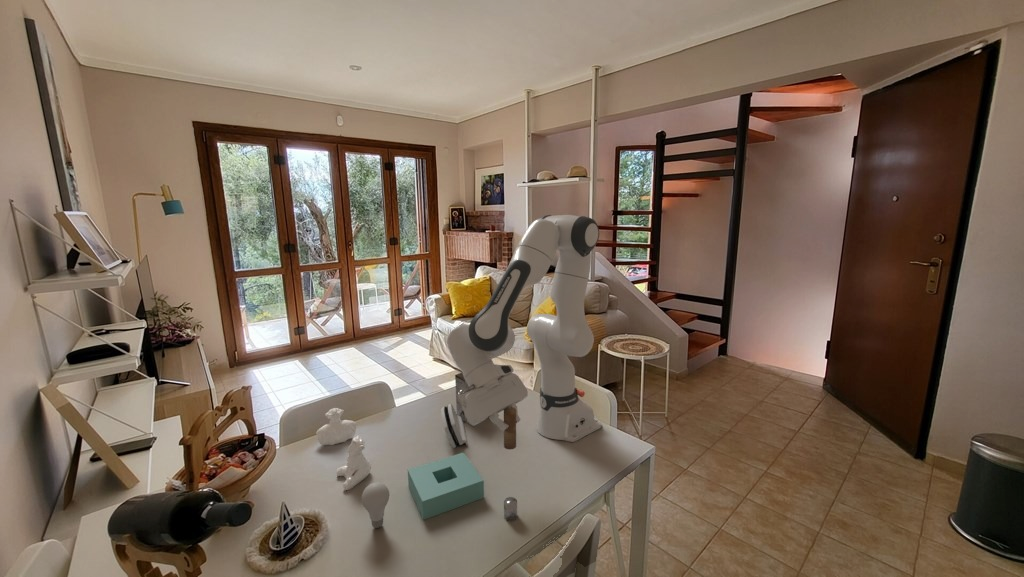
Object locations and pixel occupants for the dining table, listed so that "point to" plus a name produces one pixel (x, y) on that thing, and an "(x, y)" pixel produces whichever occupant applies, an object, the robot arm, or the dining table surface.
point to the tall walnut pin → (510, 428)
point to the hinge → (453, 426)
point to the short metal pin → (510, 509)
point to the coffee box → (459, 386)
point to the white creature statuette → (355, 464)
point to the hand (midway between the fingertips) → (511, 425)
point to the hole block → (445, 485)
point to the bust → (335, 429)
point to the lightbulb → (375, 502)
